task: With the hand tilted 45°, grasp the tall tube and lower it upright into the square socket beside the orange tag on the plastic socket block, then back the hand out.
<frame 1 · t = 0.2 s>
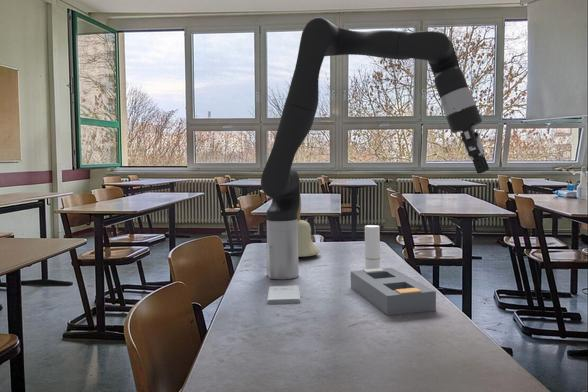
hand: (483, 171, 118), 31 cm above the table, tool tilted 20°, fingers open, 8 cm apart
external hard drive: (284, 298, 125), on the table
handbell: (298, 256, 173), on the table
tube: (372, 277, 142), on the table
socket block: (389, 297, 121), on the table
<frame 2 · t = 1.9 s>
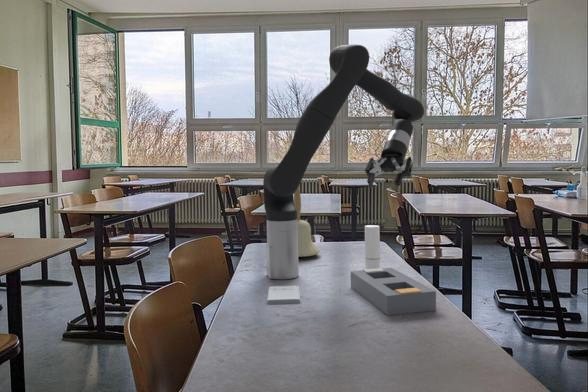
hand: (383, 184, 147), 27 cm above the table, tool tilted 45°, fingers open, 8 cm apart
nothing on the table moved.
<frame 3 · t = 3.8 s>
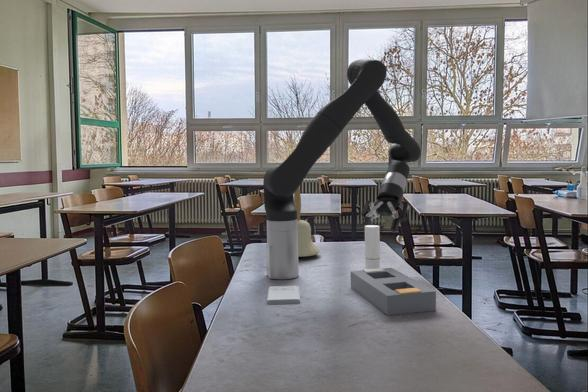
hand: (379, 230, 146), 13 cm above the table, tool tilted 45°, fingers open, 8 cm apart
nothing on the table moved.
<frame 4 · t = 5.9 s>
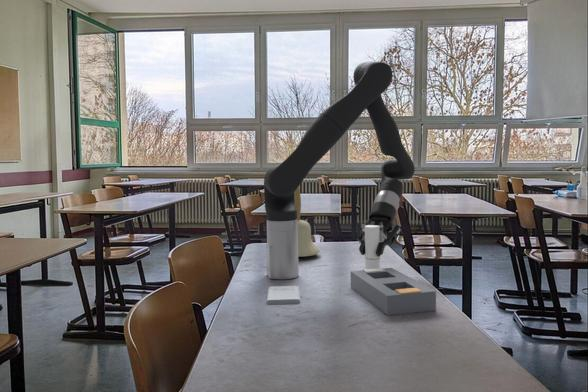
hand: (369, 254, 140), 7 cm above the table, tool tilted 45°, fingers closed on tube, 4 cm apart
tube: (372, 277, 142), on the table, touching gripper
everything else where it was.
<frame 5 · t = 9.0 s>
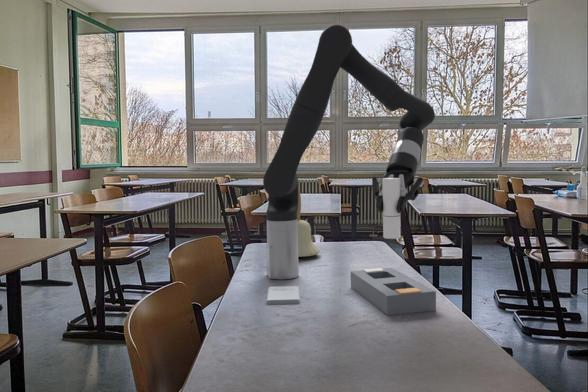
hand: (389, 210, 120), 22 cm above the table, tool tilted 45°, fingers closed on tube, 4 cm apart
tube: (391, 238, 122), point 15 cm above the table, touching gripper
everything else where it was.
when the fingers open (9 cm above the table, at t = 12.0 s): tube stays where it is, resting on socket block.
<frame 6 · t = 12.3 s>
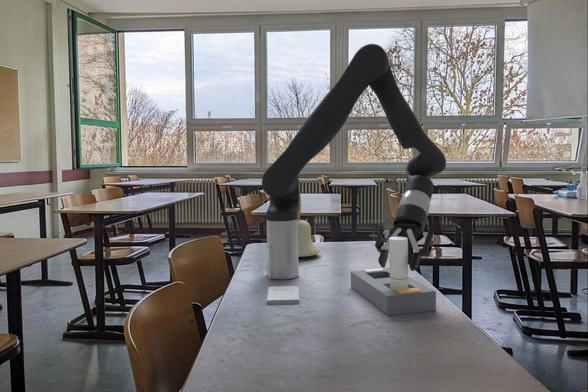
hand: (396, 267, 113), 9 cm above the table, tool tilted 45°, fingers open, 6 cm apart
tube: (399, 300, 116), point 1 cm above the table, touching socket block
everything else where it was.
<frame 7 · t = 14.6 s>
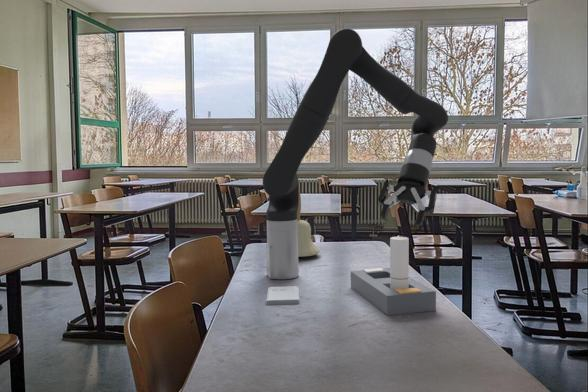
hand: (400, 222, 122), 19 cm above the table, tool tilted 35°, fingers open, 8 cm apart
nothing on the table moved.
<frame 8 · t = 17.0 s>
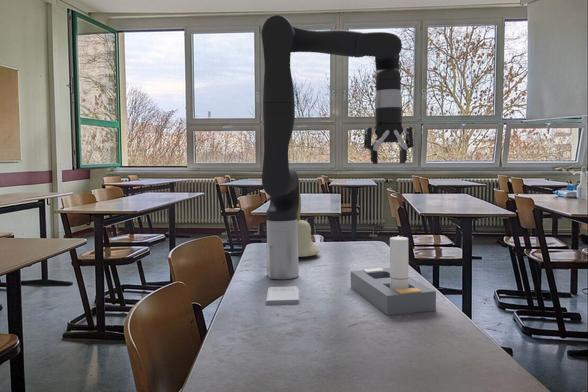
hand: (388, 163, 139), 33 cm above the table, tool pointing down, fingers open, 8 cm apart
nothing on the table moved.
at the end: tube 0.2 cm from the target spot on the socket block, point 0.8 cm above the socket block's base; tube tilted 0°; the gripper is holding nothing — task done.
